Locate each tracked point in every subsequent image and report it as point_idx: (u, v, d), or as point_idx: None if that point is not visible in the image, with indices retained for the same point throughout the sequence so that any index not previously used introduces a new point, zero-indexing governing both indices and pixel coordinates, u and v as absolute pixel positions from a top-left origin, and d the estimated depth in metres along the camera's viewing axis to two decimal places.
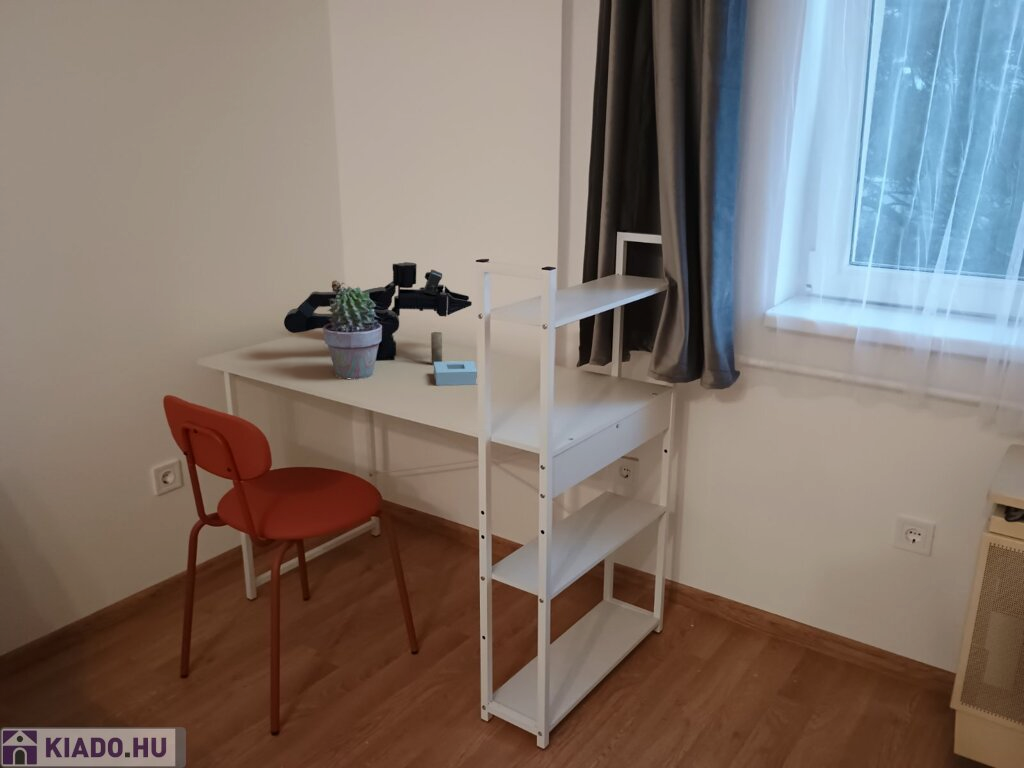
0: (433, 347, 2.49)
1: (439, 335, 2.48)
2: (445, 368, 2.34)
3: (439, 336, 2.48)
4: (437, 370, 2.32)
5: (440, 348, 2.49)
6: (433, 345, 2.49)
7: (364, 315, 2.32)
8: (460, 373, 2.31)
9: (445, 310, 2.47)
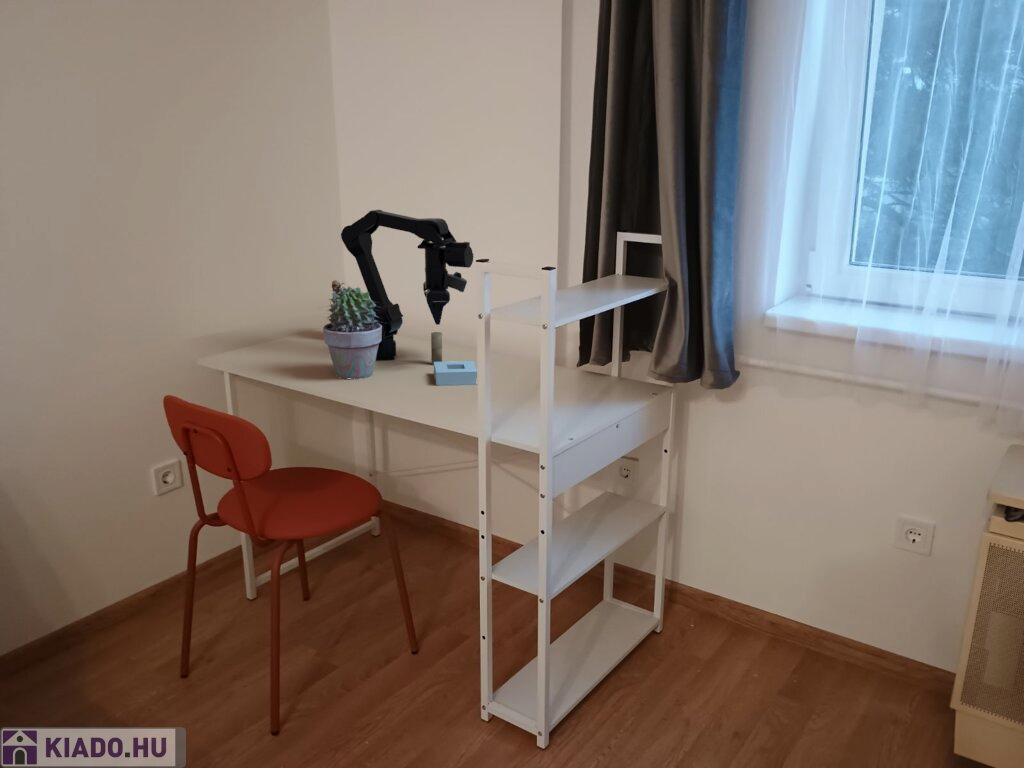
0: (433, 347, 2.49)
1: (439, 335, 2.48)
2: (445, 368, 2.34)
3: (439, 336, 2.48)
4: (437, 370, 2.32)
5: (440, 348, 2.49)
6: (433, 345, 2.49)
7: (364, 315, 2.32)
8: (460, 373, 2.31)
9: (433, 300, 2.37)
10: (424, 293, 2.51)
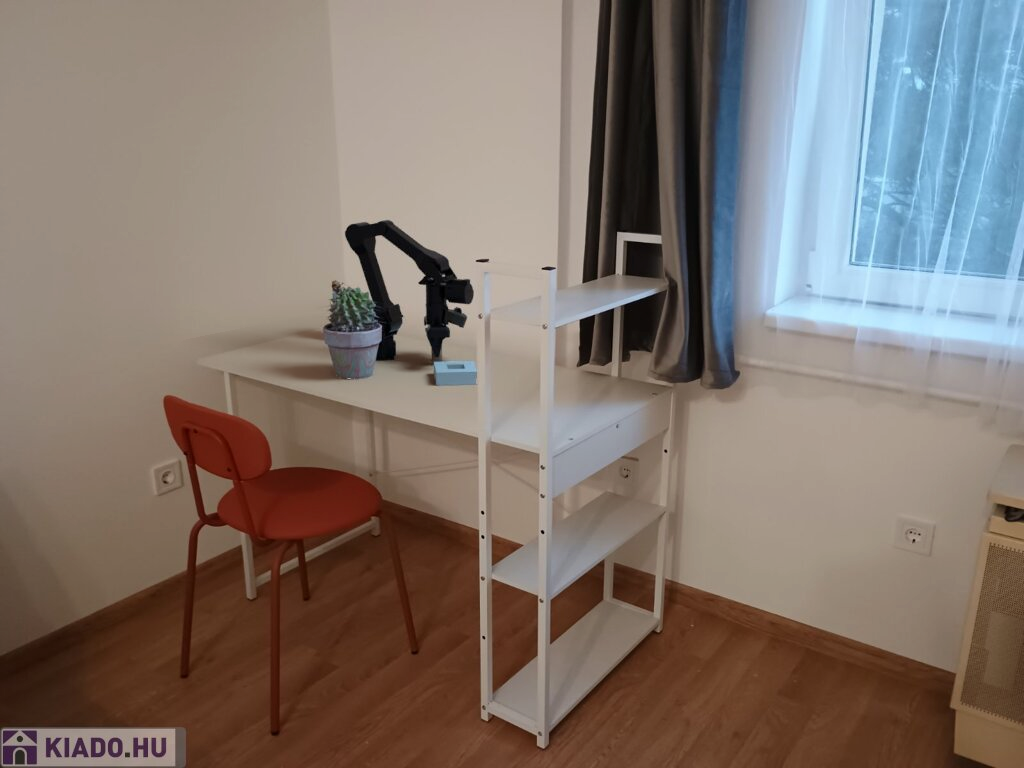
0: None
1: None
2: (445, 368, 2.34)
3: None
4: (437, 370, 2.32)
5: None
6: None
7: (364, 315, 2.32)
8: (460, 373, 2.31)
9: (433, 336, 2.40)
10: (425, 330, 2.51)
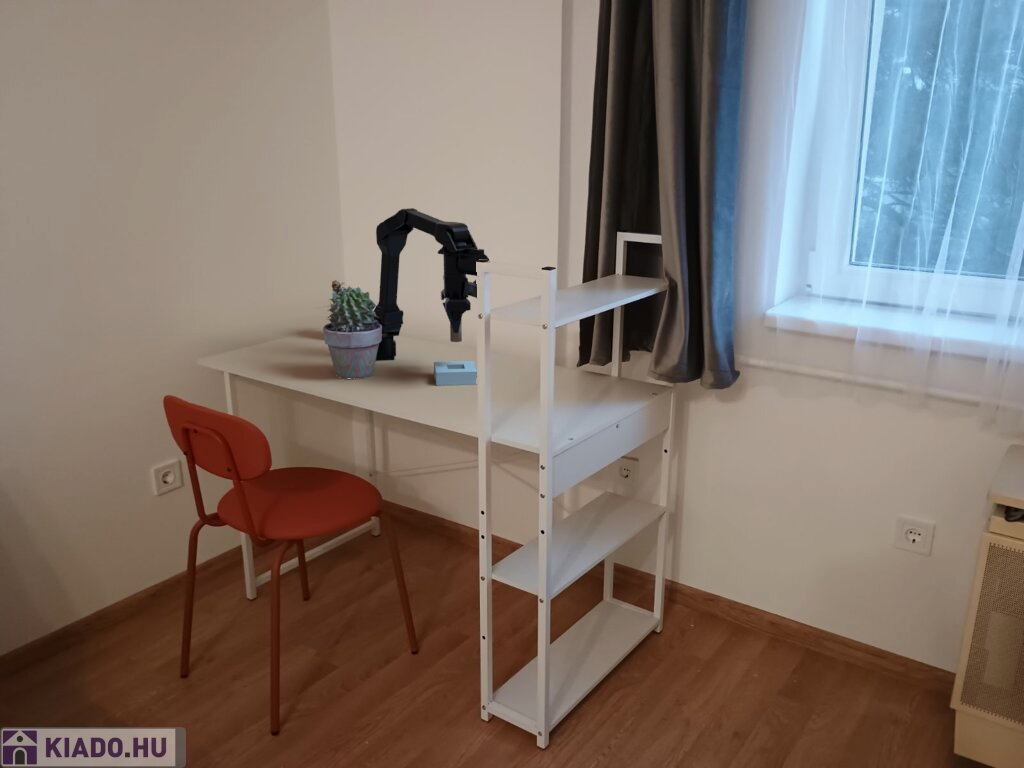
0: None
1: None
2: (445, 368, 2.34)
3: None
4: (437, 370, 2.32)
5: (460, 323, 2.32)
6: None
7: (364, 315, 2.32)
8: (460, 373, 2.31)
9: (453, 309, 2.23)
10: (443, 304, 2.34)
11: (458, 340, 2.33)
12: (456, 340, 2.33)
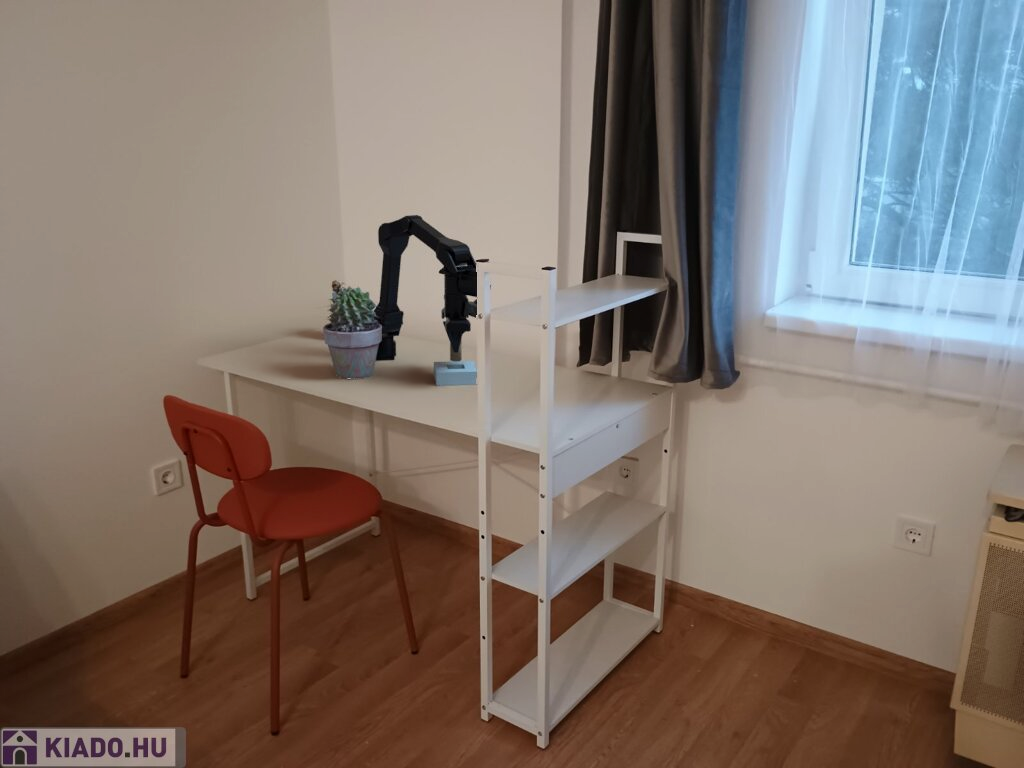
0: None
1: None
2: (445, 368, 2.34)
3: None
4: (437, 370, 2.32)
5: None
6: None
7: (364, 315, 2.32)
8: (460, 373, 2.31)
9: (453, 330, 2.24)
10: (443, 323, 2.35)
11: (458, 359, 2.34)
12: (456, 359, 2.34)
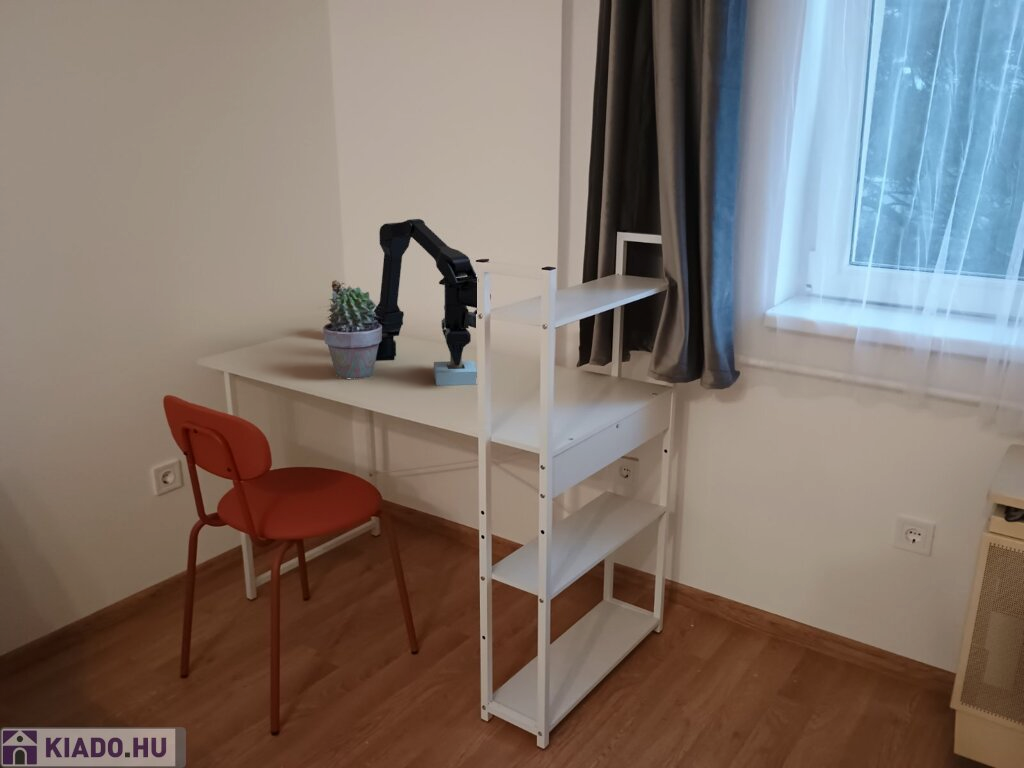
0: (452, 361, 2.34)
1: None
2: (445, 368, 2.34)
3: None
4: (437, 370, 2.32)
5: (460, 362, 2.35)
6: (452, 359, 2.34)
7: (364, 315, 2.32)
8: (460, 373, 2.31)
9: (453, 341, 2.24)
10: (443, 331, 2.38)
11: None
12: None
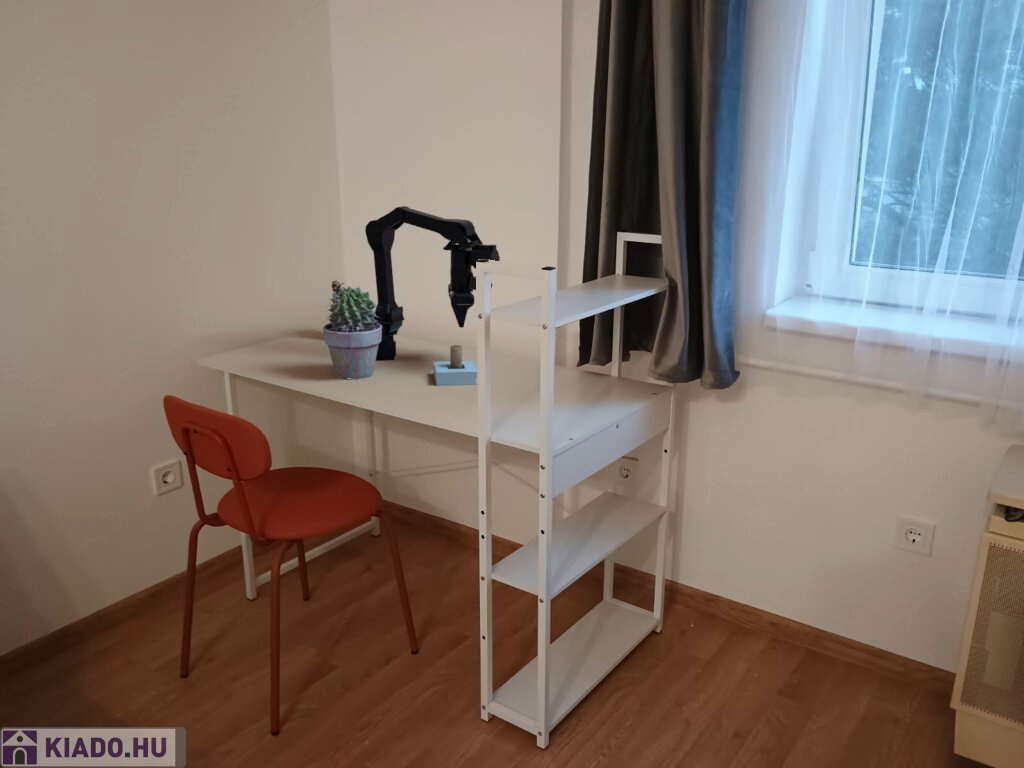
0: (452, 361, 2.34)
1: (459, 348, 2.33)
2: (445, 368, 2.34)
3: (459, 349, 2.33)
4: (437, 370, 2.32)
5: (460, 362, 2.35)
6: (452, 359, 2.34)
7: (364, 315, 2.32)
8: (460, 373, 2.31)
9: (457, 302, 2.34)
10: (449, 295, 2.48)
11: None
12: None
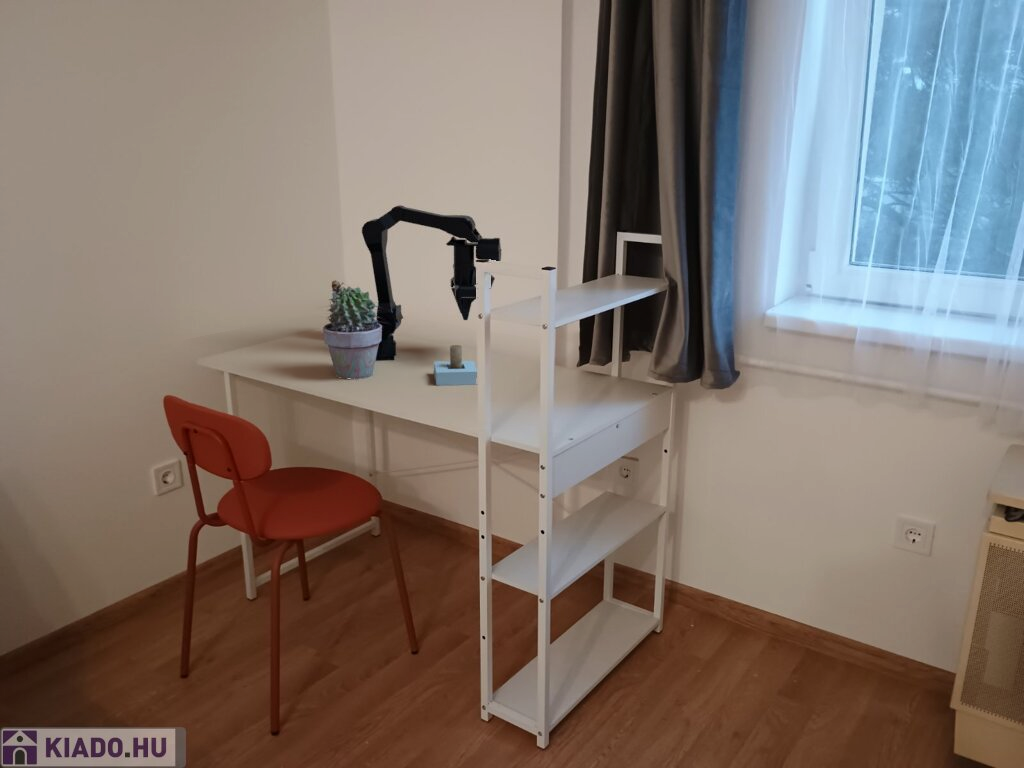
0: (452, 361, 2.34)
1: (459, 348, 2.33)
2: (445, 368, 2.34)
3: (459, 349, 2.34)
4: (437, 370, 2.32)
5: (460, 362, 2.35)
6: (452, 359, 2.34)
7: (364, 315, 2.32)
8: (460, 373, 2.31)
9: (462, 296, 2.41)
10: (452, 289, 2.54)
11: None
12: None
